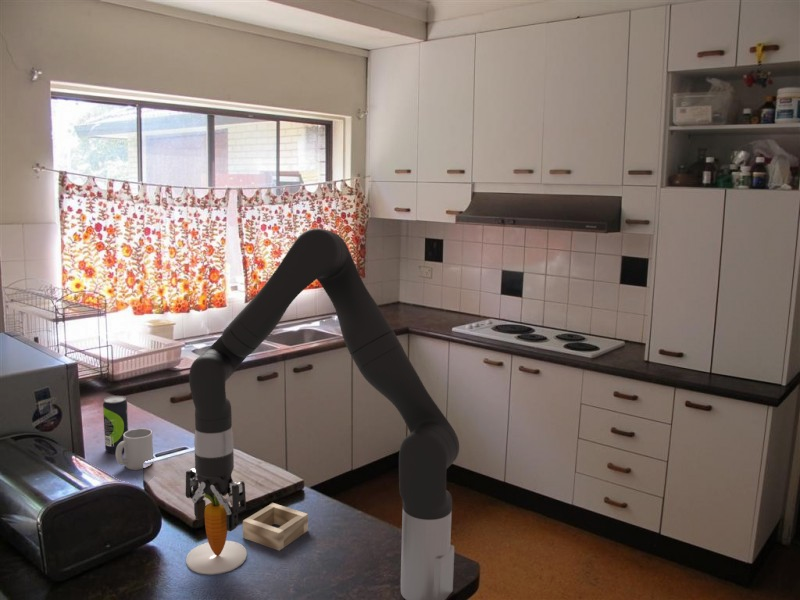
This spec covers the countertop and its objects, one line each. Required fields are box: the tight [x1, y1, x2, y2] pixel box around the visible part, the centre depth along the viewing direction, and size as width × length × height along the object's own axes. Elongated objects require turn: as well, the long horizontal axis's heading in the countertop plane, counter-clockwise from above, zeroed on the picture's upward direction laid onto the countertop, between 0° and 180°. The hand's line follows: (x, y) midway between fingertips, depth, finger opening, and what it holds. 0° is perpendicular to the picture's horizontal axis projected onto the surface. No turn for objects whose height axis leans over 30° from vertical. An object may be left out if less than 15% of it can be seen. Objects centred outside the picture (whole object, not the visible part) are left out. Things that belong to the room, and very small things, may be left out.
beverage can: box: [102, 395, 129, 454], centre depth 197 cm, size 6×6×15 cm
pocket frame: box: [242, 502, 309, 552], centre depth 154 cm, size 10×10×4 cm
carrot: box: [204, 494, 228, 556], centre depth 143 cm, size 5×5×15 cm
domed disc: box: [185, 540, 248, 575], centre depth 144 cm, size 12×12×1 cm
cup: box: [114, 428, 154, 471], centre depth 187 cm, size 7×10×9 cm
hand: (215, 523), depth 143 cm, fingers open, 8 cm apart
